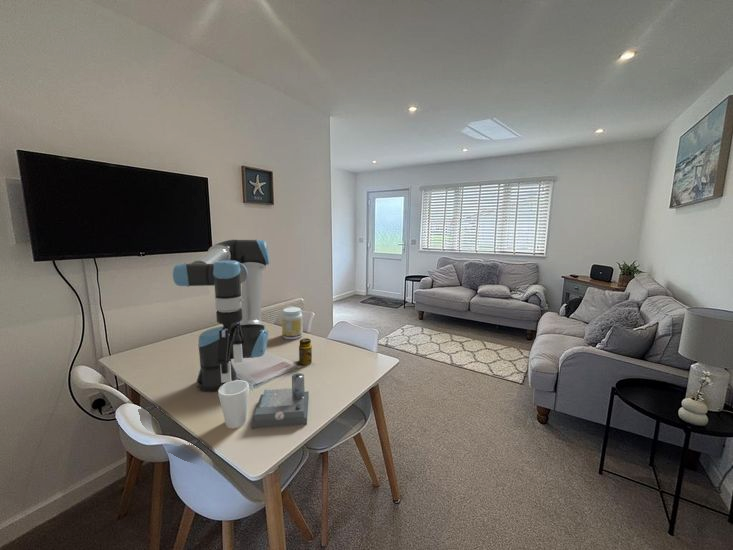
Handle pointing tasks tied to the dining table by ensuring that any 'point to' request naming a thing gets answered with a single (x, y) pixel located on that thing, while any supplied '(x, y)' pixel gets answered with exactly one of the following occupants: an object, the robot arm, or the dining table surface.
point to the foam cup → (234, 402)
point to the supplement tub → (292, 323)
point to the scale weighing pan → (279, 398)
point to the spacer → (298, 386)
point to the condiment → (304, 353)
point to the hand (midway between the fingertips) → (232, 371)
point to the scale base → (281, 415)
